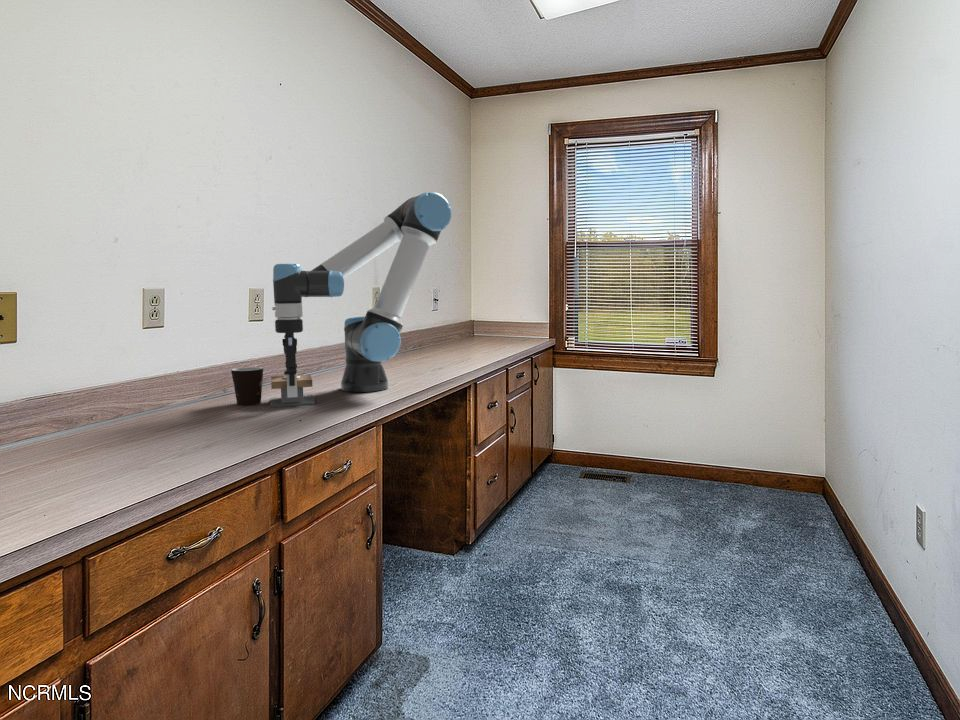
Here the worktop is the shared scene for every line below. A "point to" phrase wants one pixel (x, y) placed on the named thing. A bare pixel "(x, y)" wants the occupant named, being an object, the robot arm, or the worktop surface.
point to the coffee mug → (248, 385)
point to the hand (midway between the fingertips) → (291, 393)
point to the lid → (281, 381)
